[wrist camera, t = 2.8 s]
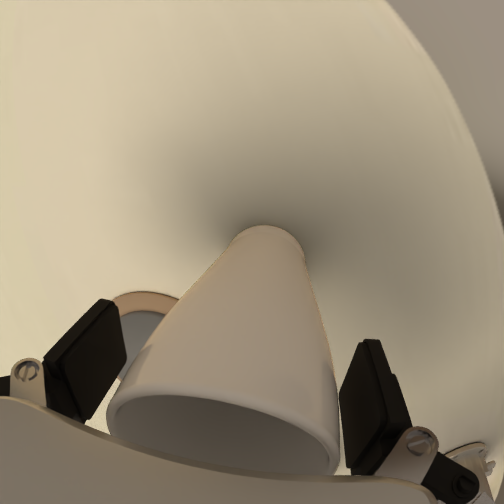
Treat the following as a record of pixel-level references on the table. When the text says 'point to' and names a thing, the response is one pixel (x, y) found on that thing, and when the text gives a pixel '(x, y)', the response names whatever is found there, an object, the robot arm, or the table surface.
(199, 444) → the drinking glass
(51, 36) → the table surface
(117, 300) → the round coaster
